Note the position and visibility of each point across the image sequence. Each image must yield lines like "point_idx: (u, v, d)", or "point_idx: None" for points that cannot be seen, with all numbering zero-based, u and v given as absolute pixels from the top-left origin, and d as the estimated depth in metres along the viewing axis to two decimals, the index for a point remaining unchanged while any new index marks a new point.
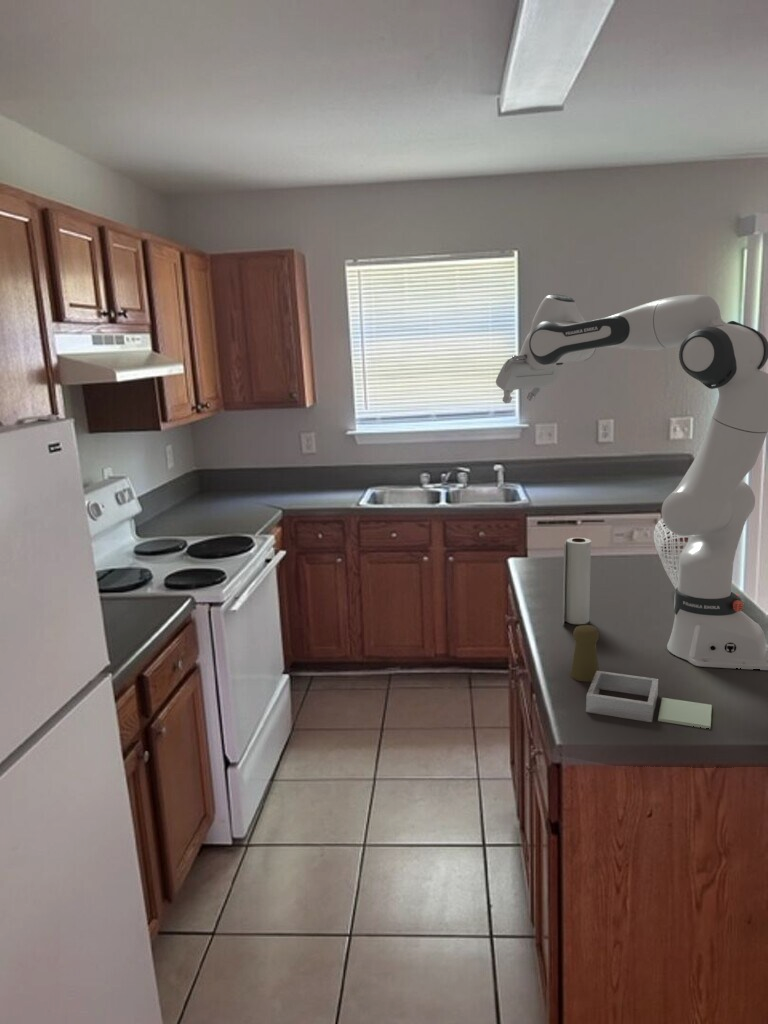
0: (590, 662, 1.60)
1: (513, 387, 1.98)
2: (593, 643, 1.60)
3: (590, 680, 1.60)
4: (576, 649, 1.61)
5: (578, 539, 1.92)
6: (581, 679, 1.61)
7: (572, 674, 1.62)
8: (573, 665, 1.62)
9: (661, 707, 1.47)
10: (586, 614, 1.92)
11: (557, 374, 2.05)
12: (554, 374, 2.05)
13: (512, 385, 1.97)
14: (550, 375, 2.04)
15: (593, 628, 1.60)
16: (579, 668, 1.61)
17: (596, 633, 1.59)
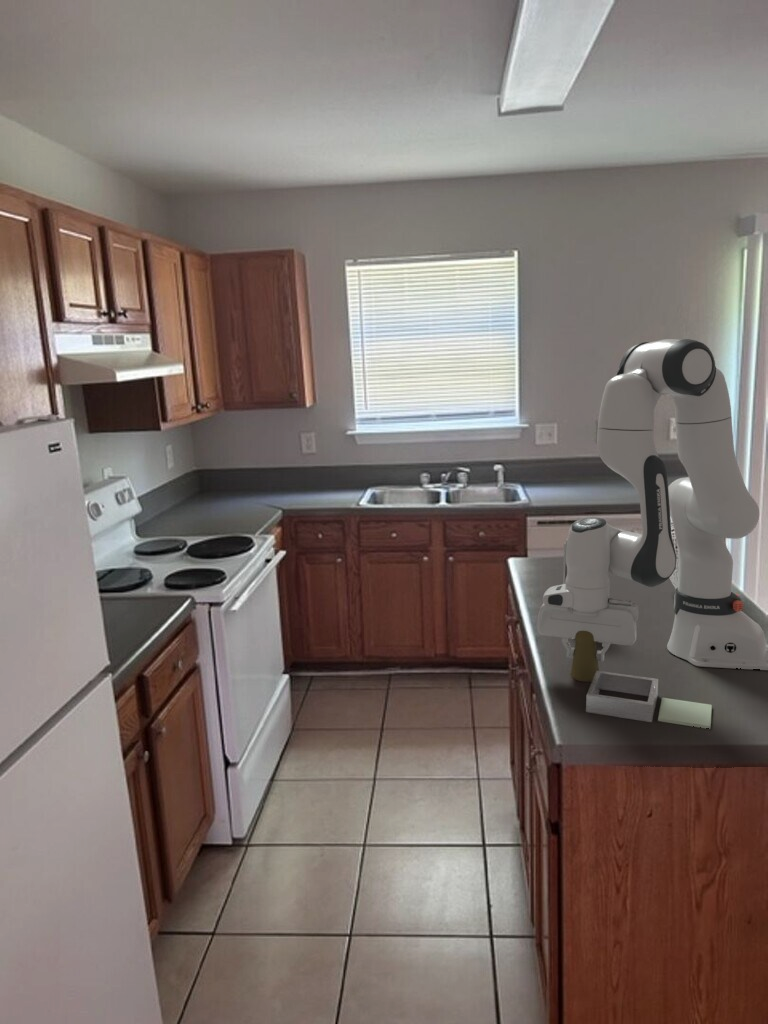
0: (590, 662, 1.60)
1: None
2: (593, 643, 1.60)
3: (590, 680, 1.60)
4: (576, 649, 1.61)
5: None
6: (581, 679, 1.61)
7: (572, 674, 1.62)
8: (573, 665, 1.62)
9: (661, 707, 1.47)
10: None
11: None
12: None
13: None
14: None
15: None
16: (579, 667, 1.61)
17: None
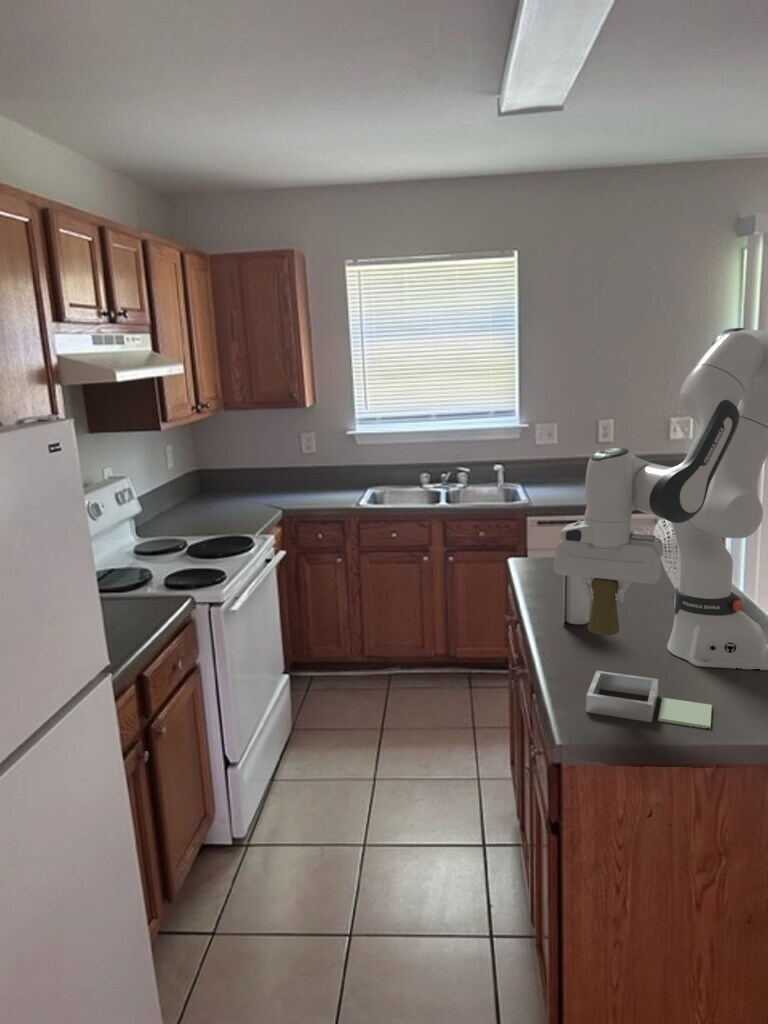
0: (610, 614, 1.51)
1: None
2: (613, 594, 1.50)
3: (609, 633, 1.51)
4: (594, 601, 1.52)
5: None
6: (600, 632, 1.51)
7: (590, 628, 1.53)
8: (591, 618, 1.53)
9: (661, 707, 1.47)
10: (586, 614, 1.92)
11: None
12: None
13: None
14: None
15: None
16: (597, 620, 1.51)
17: (616, 583, 1.50)
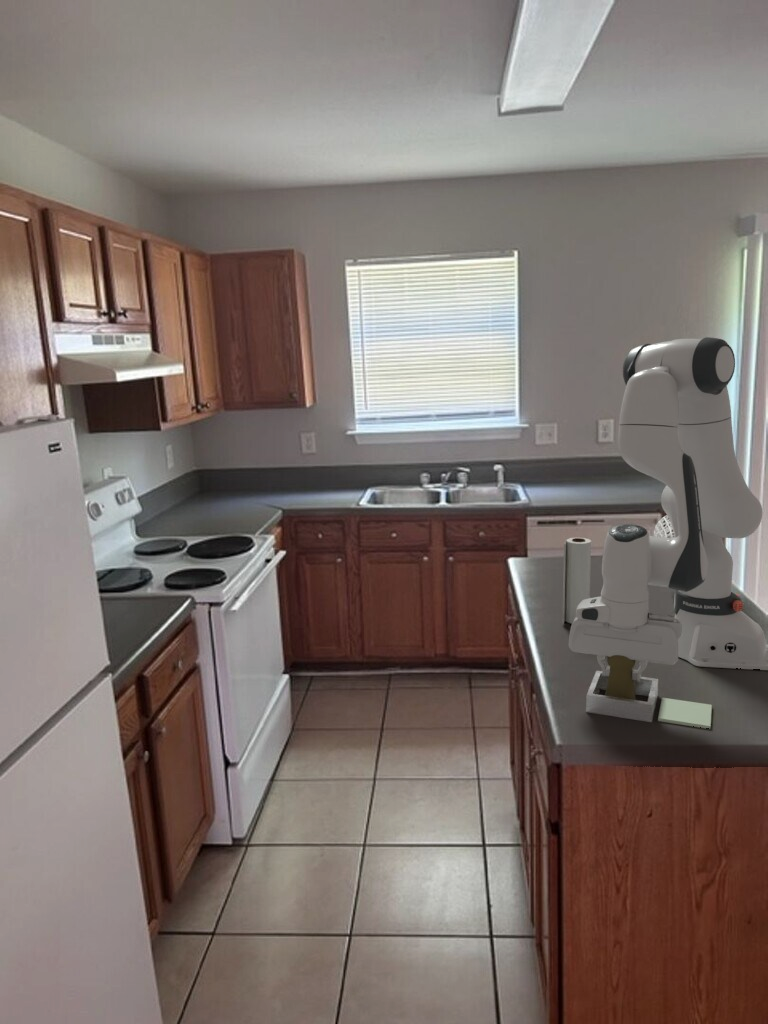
0: (627, 690, 1.47)
1: None
2: (629, 669, 1.47)
3: None
4: (611, 675, 1.48)
5: (578, 539, 1.92)
6: None
7: None
8: (607, 692, 1.49)
9: (661, 707, 1.47)
10: None
11: None
12: None
13: None
14: None
15: None
16: (614, 695, 1.48)
17: None
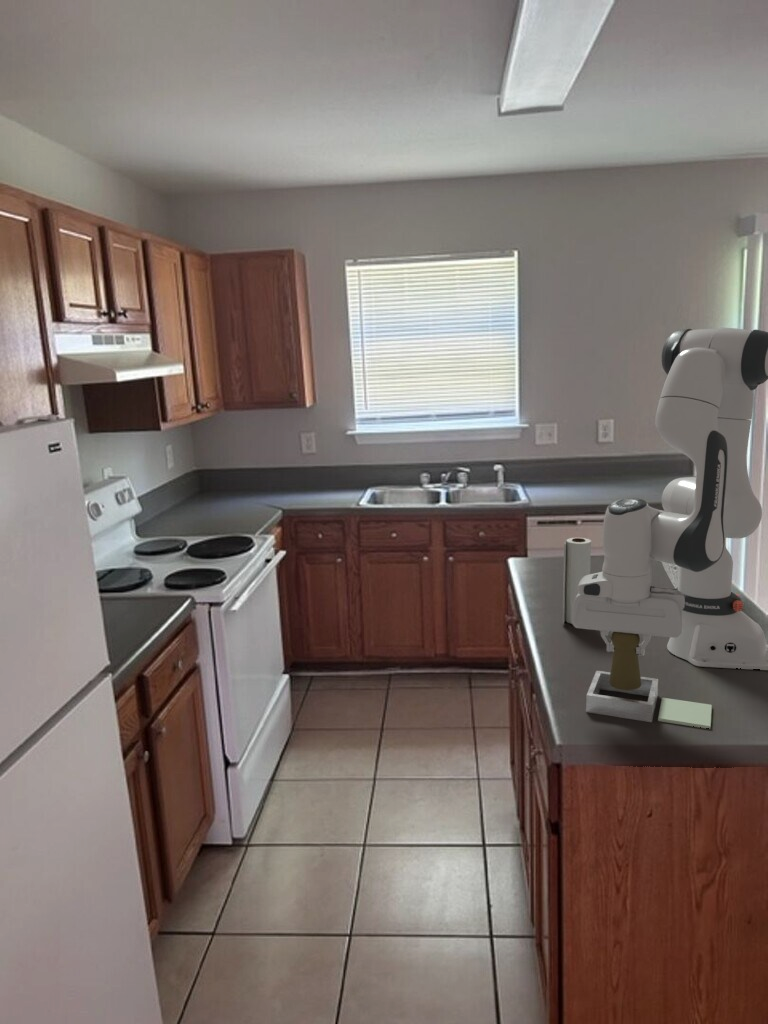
0: (631, 669, 1.47)
1: None
2: (634, 648, 1.46)
3: (632, 688, 1.47)
4: (615, 655, 1.48)
5: (578, 539, 1.92)
6: (622, 687, 1.47)
7: (611, 682, 1.49)
8: (612, 672, 1.49)
9: (661, 707, 1.47)
10: None
11: None
12: None
13: None
14: None
15: None
16: (619, 675, 1.47)
17: (637, 637, 1.46)
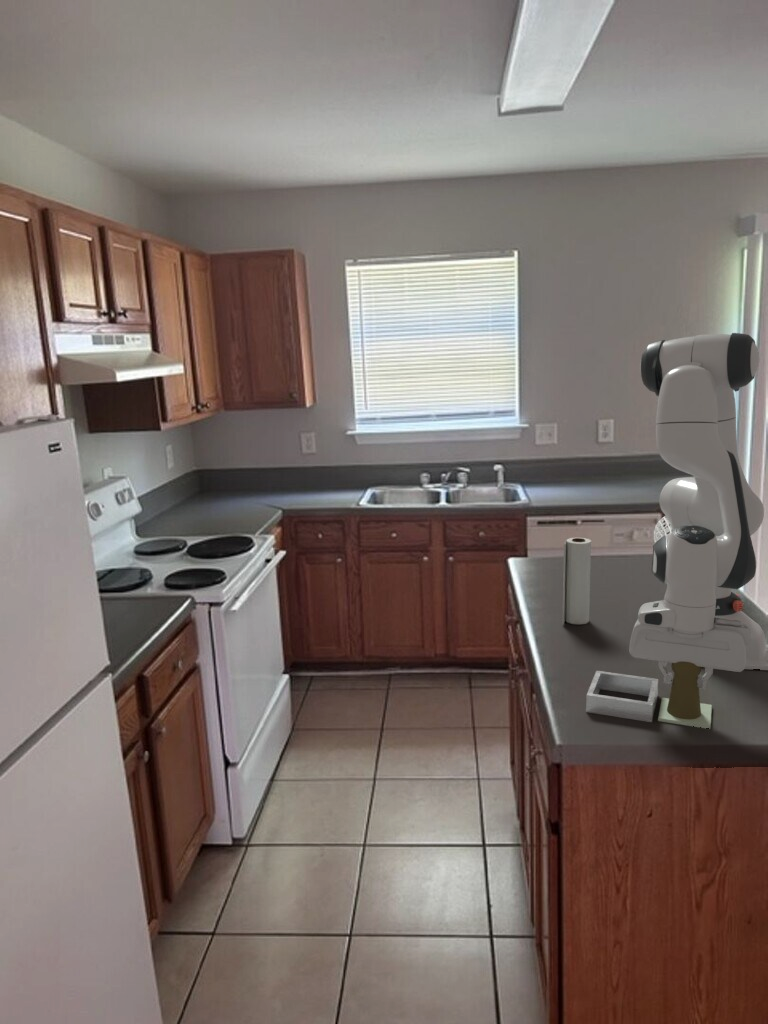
0: (692, 698, 1.42)
1: None
2: (696, 676, 1.41)
3: (692, 718, 1.42)
4: (675, 682, 1.43)
5: (578, 539, 1.92)
6: (681, 716, 1.42)
7: (670, 710, 1.44)
8: (671, 700, 1.44)
9: (661, 707, 1.47)
10: (586, 614, 1.92)
11: None
12: None
13: None
14: None
15: None
16: (679, 703, 1.42)
17: None
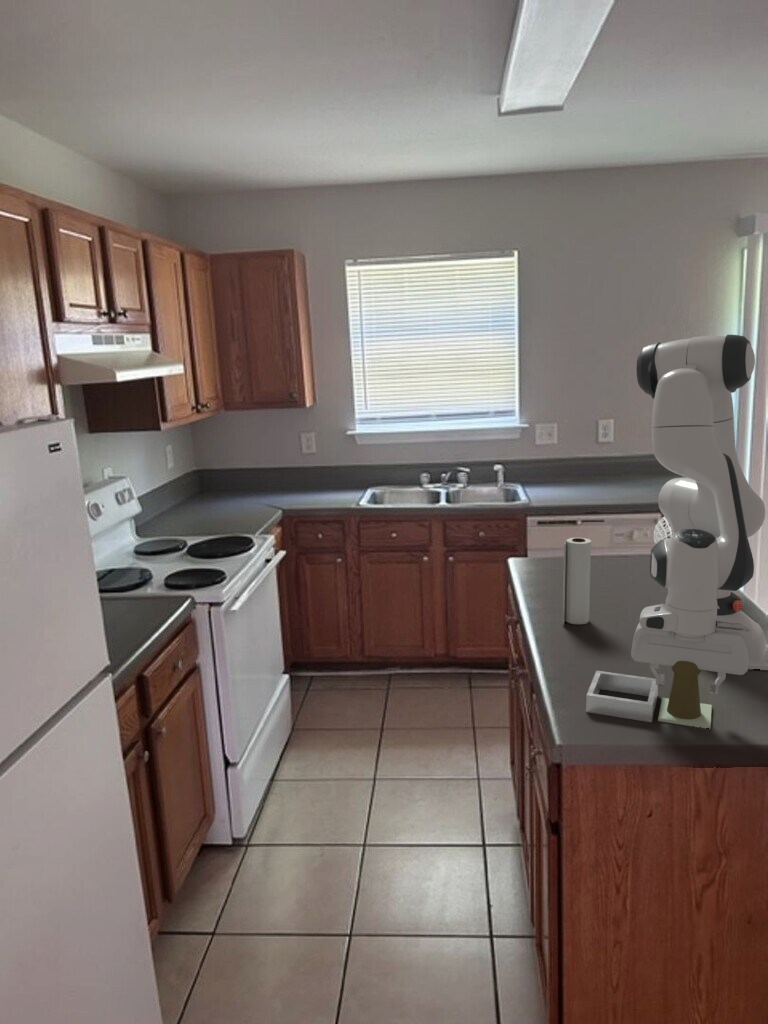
0: (692, 698, 1.42)
1: None
2: (696, 676, 1.41)
3: (692, 717, 1.42)
4: (675, 682, 1.43)
5: (578, 539, 1.92)
6: (681, 716, 1.42)
7: (670, 710, 1.44)
8: (671, 700, 1.44)
9: (661, 707, 1.47)
10: (586, 614, 1.92)
11: None
12: None
13: None
14: None
15: None
16: (679, 703, 1.42)
17: None
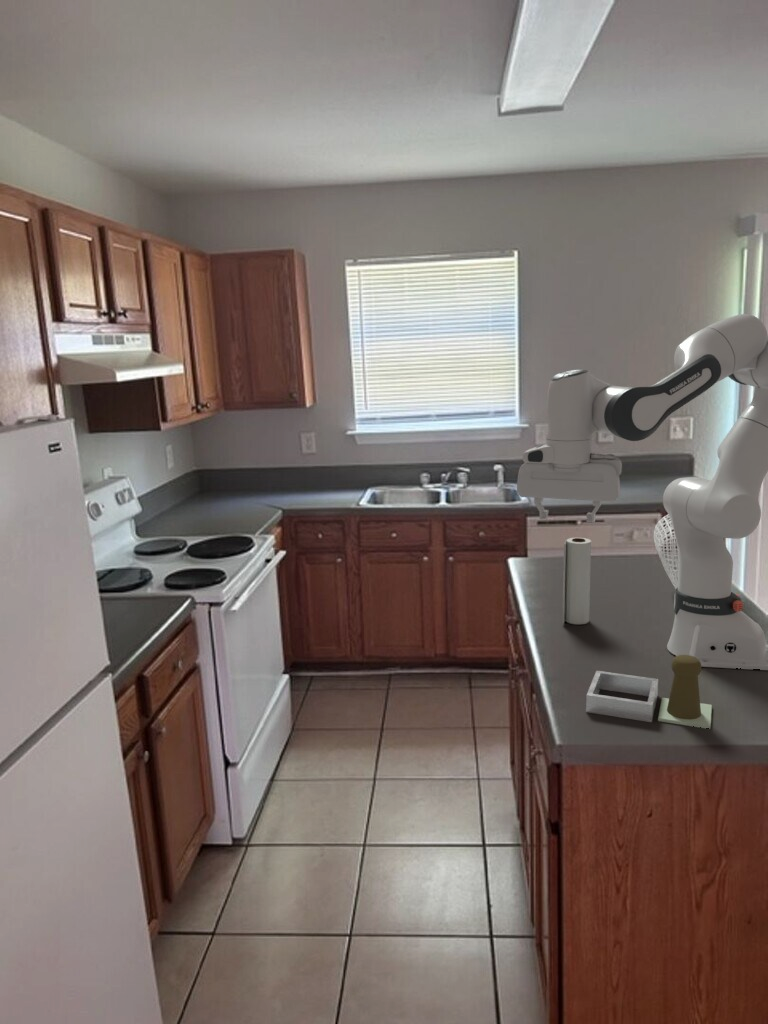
0: (692, 698, 1.42)
1: None
2: (696, 676, 1.41)
3: (692, 717, 1.42)
4: (675, 682, 1.43)
5: (578, 539, 1.92)
6: (681, 716, 1.42)
7: (670, 710, 1.44)
8: (671, 700, 1.44)
9: (661, 707, 1.47)
10: (586, 614, 1.92)
11: None
12: None
13: None
14: None
15: (695, 659, 1.42)
16: (679, 703, 1.42)
17: (699, 665, 1.41)
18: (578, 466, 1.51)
